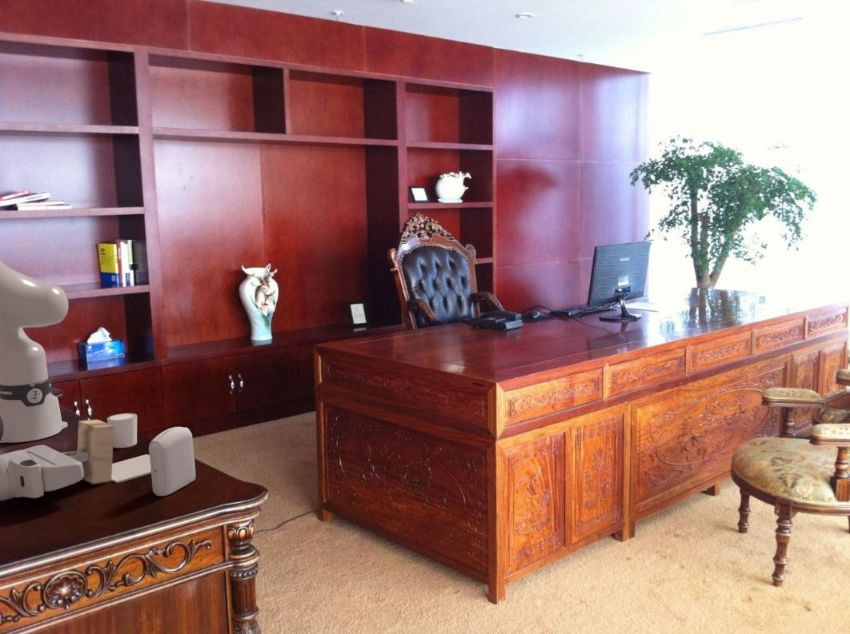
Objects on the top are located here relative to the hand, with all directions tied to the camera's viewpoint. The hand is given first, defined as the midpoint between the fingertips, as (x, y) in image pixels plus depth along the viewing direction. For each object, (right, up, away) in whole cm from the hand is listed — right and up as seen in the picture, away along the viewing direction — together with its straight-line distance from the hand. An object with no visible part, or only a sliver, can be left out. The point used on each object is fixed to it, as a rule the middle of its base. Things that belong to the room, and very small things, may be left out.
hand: (85, 454), depth 170 cm
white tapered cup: (-2, -2, +27) cm, 27 cm away
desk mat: (+7, -5, +9) cm, 12 cm away
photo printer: (+20, -6, -4) cm, 21 cm away
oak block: (+1, -6, +2) cm, 6 cm away
